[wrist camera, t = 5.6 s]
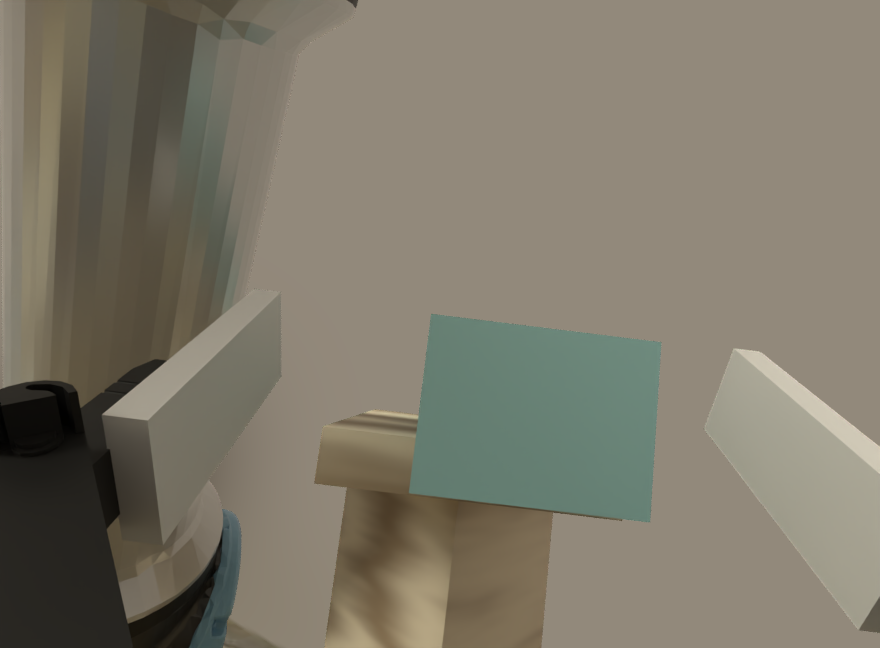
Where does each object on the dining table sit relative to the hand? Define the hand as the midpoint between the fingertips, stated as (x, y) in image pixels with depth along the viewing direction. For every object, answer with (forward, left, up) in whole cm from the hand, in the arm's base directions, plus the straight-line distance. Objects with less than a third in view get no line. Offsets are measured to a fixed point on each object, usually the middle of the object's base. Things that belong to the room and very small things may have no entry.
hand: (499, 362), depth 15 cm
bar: (-5, +5, -3) cm, 7 cm away
